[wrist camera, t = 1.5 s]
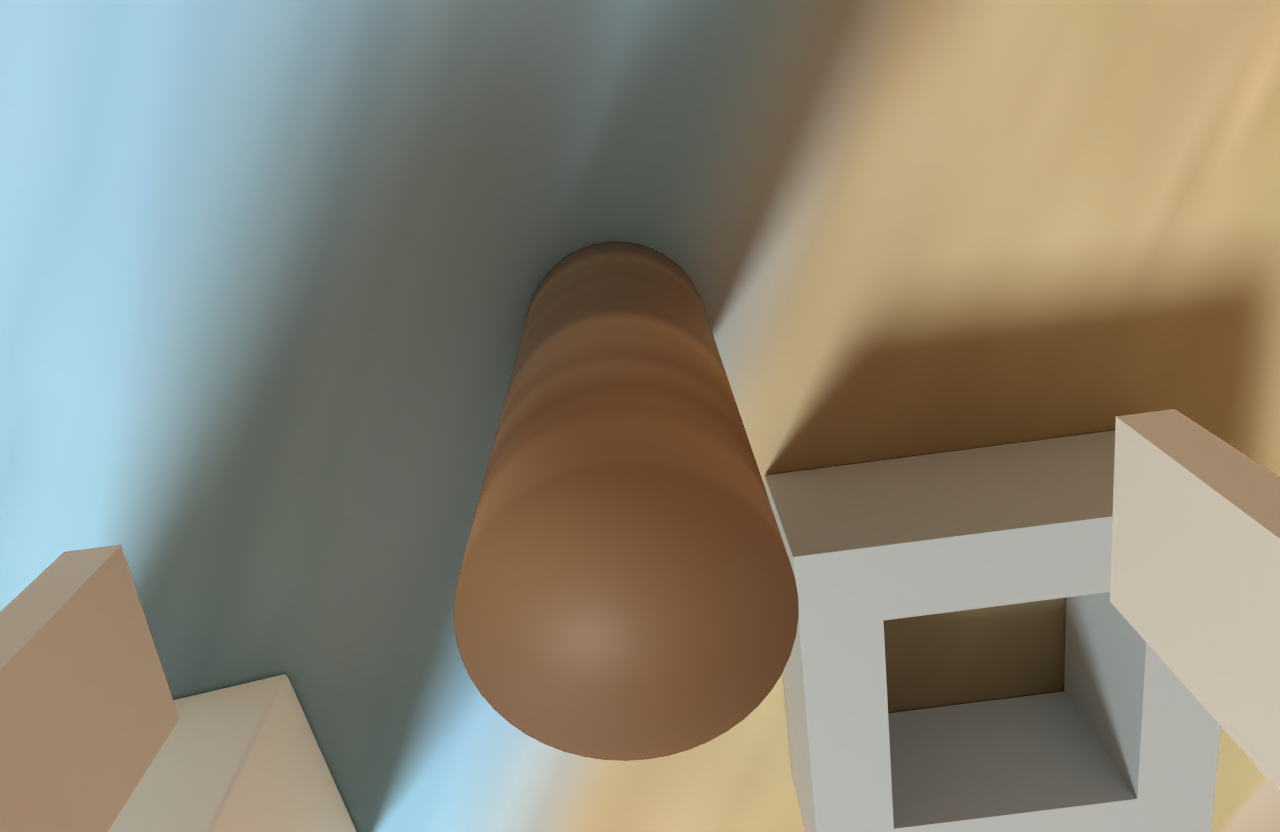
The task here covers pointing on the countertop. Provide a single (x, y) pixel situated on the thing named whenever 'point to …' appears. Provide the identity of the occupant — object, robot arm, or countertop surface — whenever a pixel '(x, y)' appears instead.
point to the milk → (238, 768)
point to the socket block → (963, 580)
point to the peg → (623, 525)
